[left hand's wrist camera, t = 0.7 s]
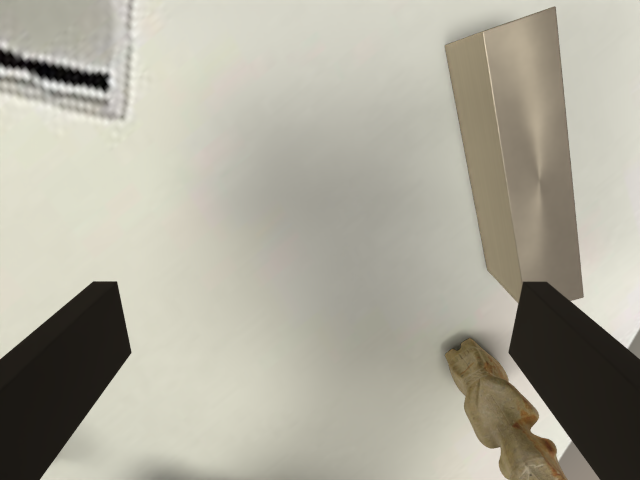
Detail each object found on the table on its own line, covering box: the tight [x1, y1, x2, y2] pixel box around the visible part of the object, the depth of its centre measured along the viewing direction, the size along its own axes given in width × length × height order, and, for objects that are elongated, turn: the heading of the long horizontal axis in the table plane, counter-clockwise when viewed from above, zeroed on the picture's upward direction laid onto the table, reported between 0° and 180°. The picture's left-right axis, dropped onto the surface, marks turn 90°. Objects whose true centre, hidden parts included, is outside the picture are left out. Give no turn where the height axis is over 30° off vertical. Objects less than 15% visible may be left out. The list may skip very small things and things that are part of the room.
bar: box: [445, 7, 584, 304], centre depth 33 cm, size 22×5×8 cm, turn 18°
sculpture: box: [445, 338, 568, 480], centre depth 37 cm, size 6×7×15 cm
